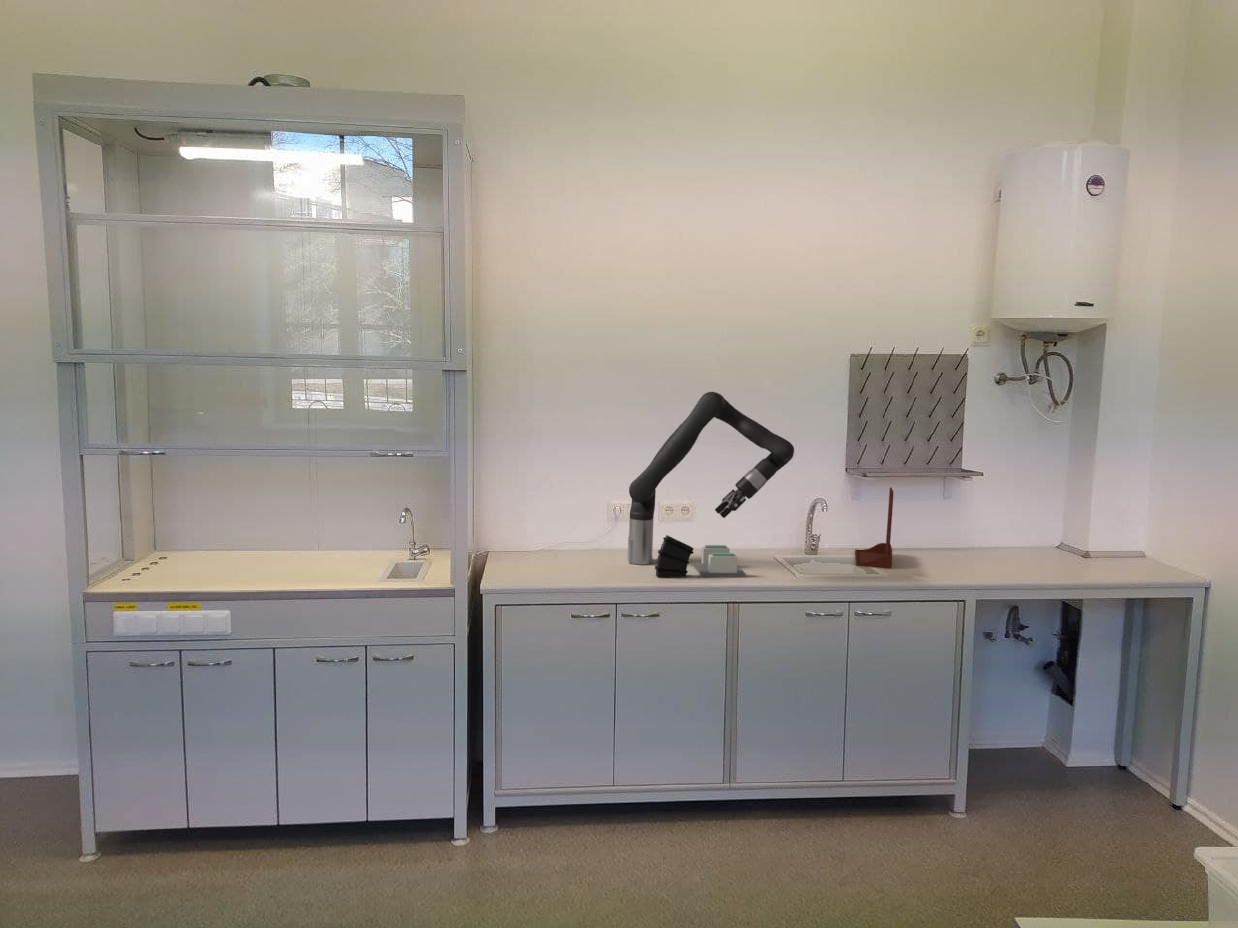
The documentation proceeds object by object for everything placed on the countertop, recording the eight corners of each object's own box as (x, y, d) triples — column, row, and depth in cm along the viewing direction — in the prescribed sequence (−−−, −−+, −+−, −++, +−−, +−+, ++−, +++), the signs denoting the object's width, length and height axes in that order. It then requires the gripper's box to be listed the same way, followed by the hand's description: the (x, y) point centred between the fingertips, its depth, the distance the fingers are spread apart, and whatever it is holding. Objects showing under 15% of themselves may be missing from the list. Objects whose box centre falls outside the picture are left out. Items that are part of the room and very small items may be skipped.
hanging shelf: (854, 553, 326) (859, 483, 323) (887, 555, 322) (892, 485, 319) (856, 566, 303) (861, 490, 299) (891, 569, 299) (896, 493, 296)
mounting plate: (701, 577, 279) (702, 554, 278) (693, 565, 295) (694, 544, 295) (745, 577, 280) (746, 555, 279) (734, 565, 297) (735, 544, 296)
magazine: (646, 571, 278) (665, 534, 278) (677, 585, 281) (696, 548, 281) (649, 573, 275) (668, 536, 275) (680, 588, 278) (699, 551, 278)
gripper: (739, 473, 285) (708, 503, 286) (749, 478, 271) (716, 510, 272) (753, 487, 287) (721, 517, 287) (763, 493, 272) (730, 525, 273)
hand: (719, 514), depth 279 cm, fingers open, 8 cm apart
